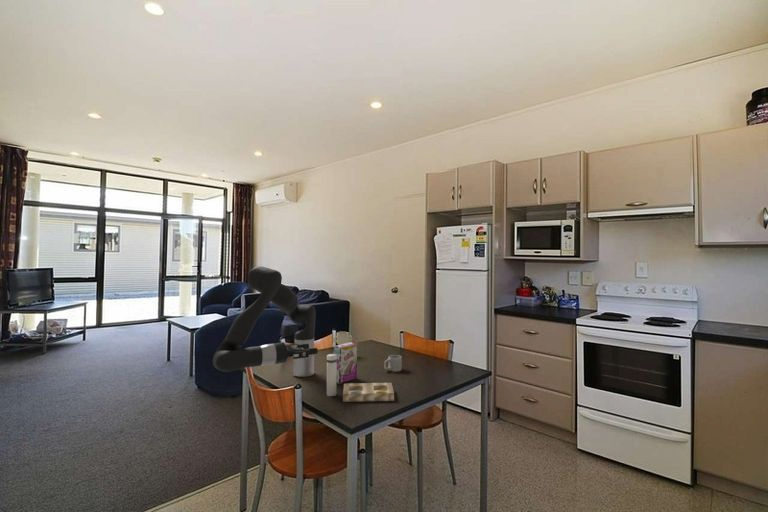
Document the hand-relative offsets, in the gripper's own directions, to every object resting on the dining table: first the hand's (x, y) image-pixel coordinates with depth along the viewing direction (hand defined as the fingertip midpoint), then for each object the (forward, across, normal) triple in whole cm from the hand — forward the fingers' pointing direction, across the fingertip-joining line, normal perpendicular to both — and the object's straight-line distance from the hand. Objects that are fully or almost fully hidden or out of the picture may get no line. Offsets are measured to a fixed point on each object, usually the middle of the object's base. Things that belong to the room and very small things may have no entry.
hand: (312, 348), depth 145 cm
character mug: (+41, +51, +20) cm, 68 cm away
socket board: (+20, -9, +20) cm, 30 cm away
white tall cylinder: (+8, 0, +20) cm, 22 cm away
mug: (+48, +12, +20) cm, 54 cm away
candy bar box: (+21, +12, +20) cm, 32 cm away
